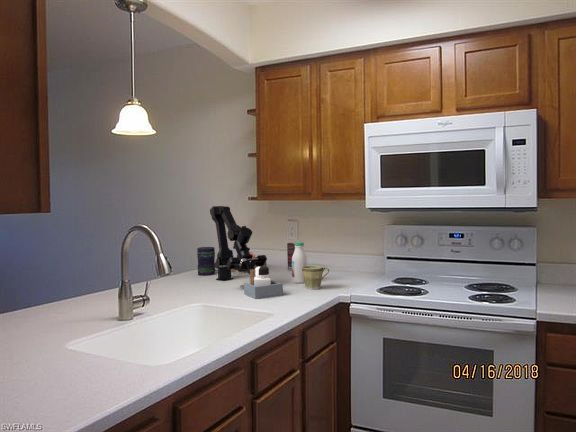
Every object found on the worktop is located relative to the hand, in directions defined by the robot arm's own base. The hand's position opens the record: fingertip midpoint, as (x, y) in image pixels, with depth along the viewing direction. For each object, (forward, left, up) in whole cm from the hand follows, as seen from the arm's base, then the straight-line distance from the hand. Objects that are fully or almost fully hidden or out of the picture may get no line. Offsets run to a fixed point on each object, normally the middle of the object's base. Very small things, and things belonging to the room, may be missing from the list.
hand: (252, 276), depth 210 cm
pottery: (-43, +45, -7) cm, 63 cm away
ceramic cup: (+22, +19, -7) cm, 30 cm away
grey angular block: (+9, -4, -7) cm, 12 cm away
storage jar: (-51, +21, -7) cm, 56 cm away
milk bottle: (+7, +28, -7) cm, 30 cm away
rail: (-7, +3, -7) cm, 10 cm away
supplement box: (-15, +57, -7) cm, 60 cm away
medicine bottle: (+8, -3, -7) cm, 11 cm away
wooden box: (-43, +46, -7) cm, 64 cm away
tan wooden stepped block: (+2, -1, -7) cm, 7 cm away
